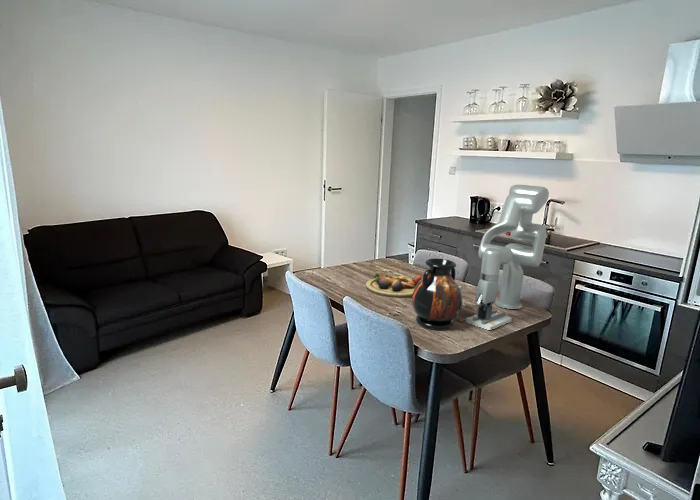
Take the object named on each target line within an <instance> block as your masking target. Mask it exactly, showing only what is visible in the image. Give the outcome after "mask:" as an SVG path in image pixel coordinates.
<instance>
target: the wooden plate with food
mask: <svg viewBox="0 0 700 500" xmlns="http://www.w3.org/2000/svg"><path fill="white" fill-rule="evenodd" d="M373 277H374V278H371V279H369V280H367V281H366V283H365V288H366V290H368V291H369V292H371V293H373V294H375V295H379V296H382V297H387V298H388V297H389V298H412V295H413V292H414V289H415V287H416V285H417V284H418V282H419V281H420V280H421V279H423V276H422V275H416V276H414V277H412V278H409V276H405V275H399V276H392V275H391V276H390V275H389V274H385V276H384V274H383V273H382V272H377V273H375V274H374V276H373Z"/></svg>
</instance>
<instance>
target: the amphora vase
mask: <svg viewBox="0 0 700 500" xmlns="http://www.w3.org/2000/svg"><path fill="white" fill-rule="evenodd" d="M424 263H425V265H426V266H428V267H429V269H426V270H425V271H424V272H423V275H422V279H421V280H420V281H419V282H418V284H417V285H416V287H415V289H414V292H413V295H412V297H411V306H412V309H413V311H414V313H416V317H415V321H416V322H417V324H418V325H419V326H421V327H424V328H425V329H429V330H437V331H442V330H443V331H445V330H448V329H451V328H453V326H454V324H455V321H454V320H455V319H456V318H457V317H458V316H459V314H460V313H461V312H462V308H463V296H462V295H463V294H462V291H460V288H459V286H460V285H459V284H458V283H456V281H455V280H456V269H455V268H456V267H457V264H456V262H454V261H452V260H450V259H446V258H428V259H426V260H425V262H424Z"/></svg>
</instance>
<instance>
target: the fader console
mask: <svg viewBox="0 0 700 500" xmlns="http://www.w3.org/2000/svg"><path fill="white" fill-rule="evenodd" d="M477 314H478V313H476V314H473V315H471V316H468V317H465V324H469V325H471V324H472V325H471V326H474V325H475V326H474V327H477V326H478V327H477V328H479V327H481V328H480V329H482V328H484V329H487V330H492V329H495V328H497V327H499V326H501V325H503V324H505V323H507V322H510V321H511V322H512V319H513V318H512V317H510V316H508V315H507V314H506V312H505V311H504V312H501V313H499V312H498V309H492V315H491V318H490V319H488V320H487V319H486V320H483V321H482V320H479V319H480V317H478V316H477ZM511 322H510V323H511ZM501 327H502V326H501ZM499 328H500V327H499ZM484 329H483V330H484ZM497 329H498V328H497ZM487 330H486V331H487ZM495 330H496V329H495ZM492 331H493V330H492Z"/></svg>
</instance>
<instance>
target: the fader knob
mask: <svg viewBox="0 0 700 500" xmlns="http://www.w3.org/2000/svg"><path fill="white" fill-rule="evenodd" d="M482 305H483V304H482ZM483 306H484V305H483ZM477 307H478V306H477ZM493 308H494V307H493V305H492V306H490V305H486V317H485V319H482V318H480V319H479V320H482V321H483V320H486V319H487V320H488V319H490V318H491V315H492V310H493ZM476 314H477V316H478V314H479V307H478V308H477V313H476Z"/></svg>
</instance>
